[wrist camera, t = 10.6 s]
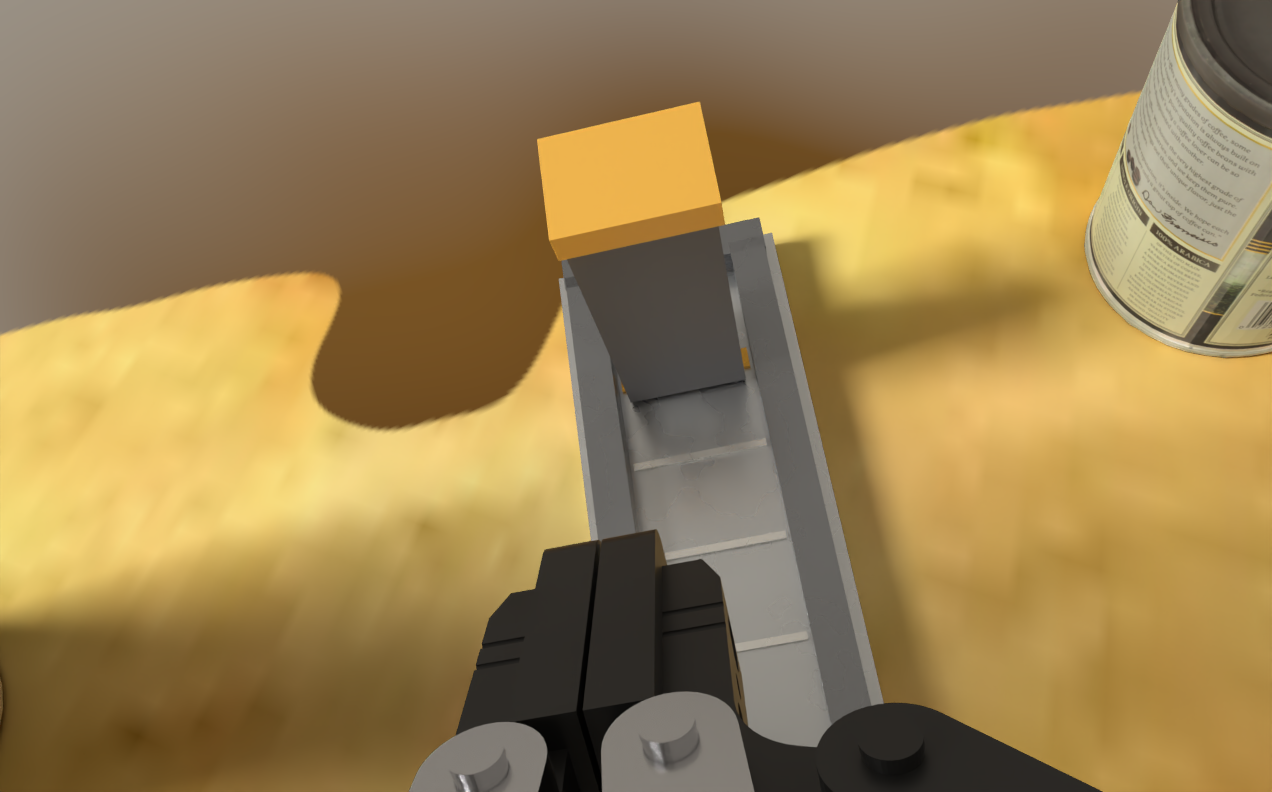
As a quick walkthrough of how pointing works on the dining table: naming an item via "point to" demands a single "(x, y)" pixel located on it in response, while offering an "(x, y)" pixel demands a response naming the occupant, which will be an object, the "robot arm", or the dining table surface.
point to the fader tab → (646, 247)
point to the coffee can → (1195, 188)
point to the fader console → (736, 497)
